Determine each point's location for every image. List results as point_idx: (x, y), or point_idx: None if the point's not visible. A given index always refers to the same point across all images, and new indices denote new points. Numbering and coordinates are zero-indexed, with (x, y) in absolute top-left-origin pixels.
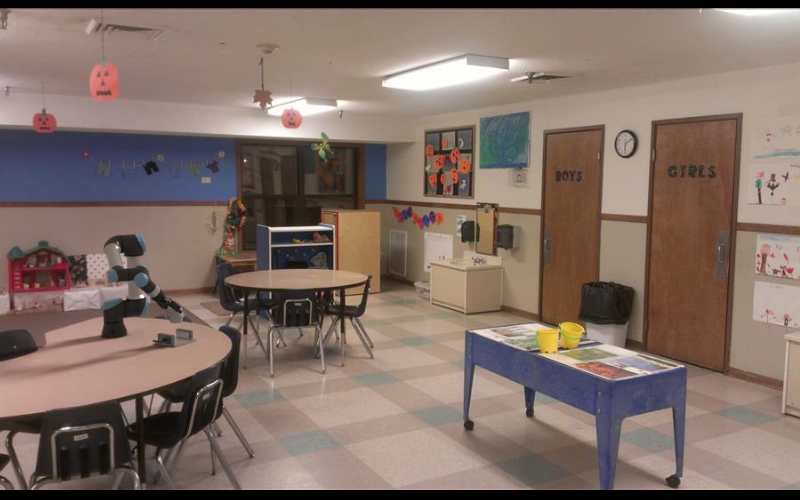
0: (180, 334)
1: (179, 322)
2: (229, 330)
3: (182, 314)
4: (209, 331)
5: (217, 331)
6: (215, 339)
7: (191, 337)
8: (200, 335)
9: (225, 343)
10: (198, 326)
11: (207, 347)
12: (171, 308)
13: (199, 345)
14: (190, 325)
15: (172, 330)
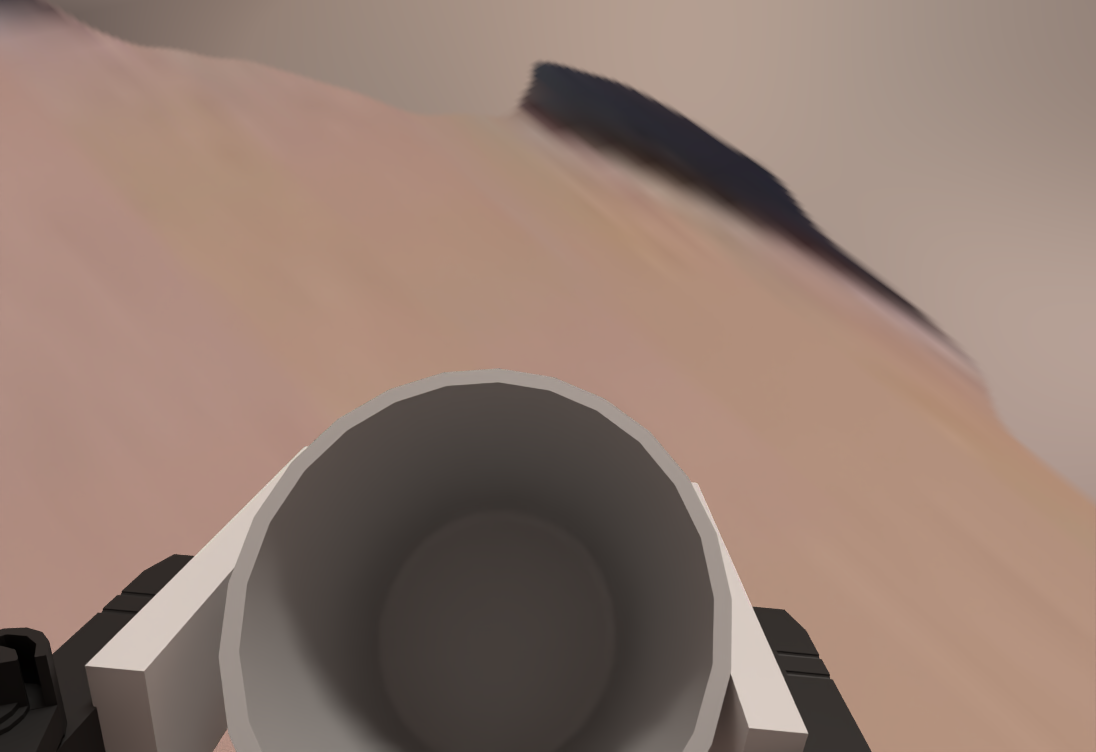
0: None
1: (618, 657)
2: (633, 111)
3: None
4: (496, 180)
5: (564, 160)
6: (797, 374)
7: None
8: (529, 309)
9: (1031, 459)
10: (271, 92)
11: (1053, 693)
12: (267, 610)
13: (886, 655)
14: (172, 87)
15: (96, 258)
